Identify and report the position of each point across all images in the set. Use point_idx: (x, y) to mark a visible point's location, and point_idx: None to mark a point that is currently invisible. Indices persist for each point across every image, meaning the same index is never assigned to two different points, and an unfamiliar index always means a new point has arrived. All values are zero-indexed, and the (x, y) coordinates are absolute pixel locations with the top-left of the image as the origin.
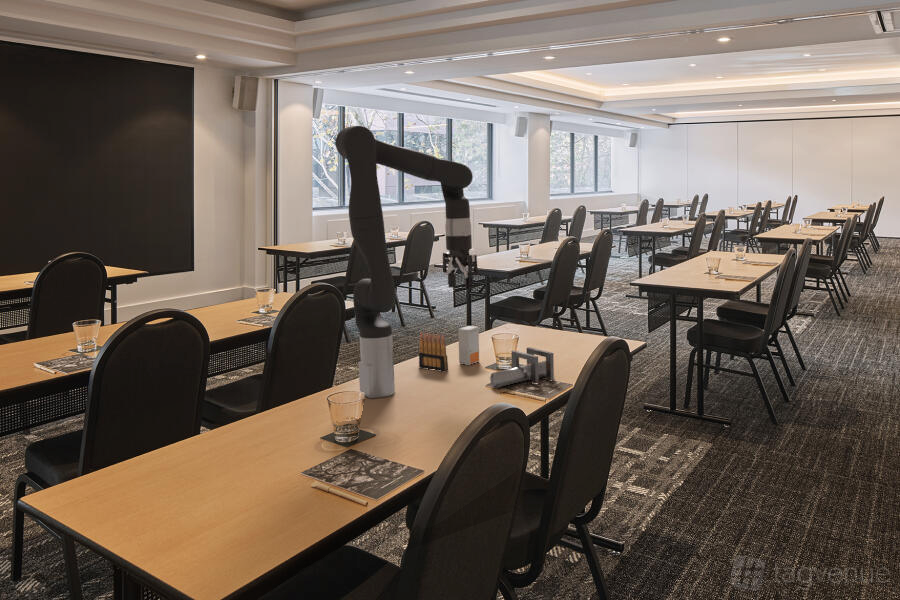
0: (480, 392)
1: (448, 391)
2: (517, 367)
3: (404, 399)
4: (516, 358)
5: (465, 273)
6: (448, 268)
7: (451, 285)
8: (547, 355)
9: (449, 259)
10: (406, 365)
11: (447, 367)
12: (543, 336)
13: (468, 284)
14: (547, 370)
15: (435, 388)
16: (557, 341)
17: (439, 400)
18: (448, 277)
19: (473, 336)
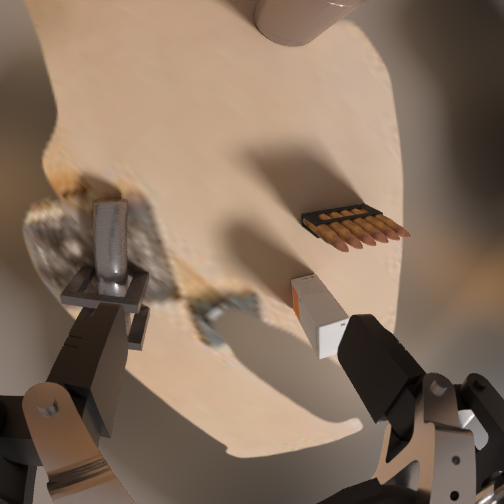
0: (116, 154)
1: (175, 110)
2: (106, 271)
3: (210, 20)
4: (125, 296)
5: (55, 431)
6: (452, 425)
7: (354, 332)
8: None
9: (483, 494)
10: (393, 201)
11: (305, 227)
12: (304, 432)
13: (76, 340)
14: (88, 312)
15: (217, 106)
16: (270, 433)
17: (143, 59)
18: (408, 361)
19: (311, 330)
